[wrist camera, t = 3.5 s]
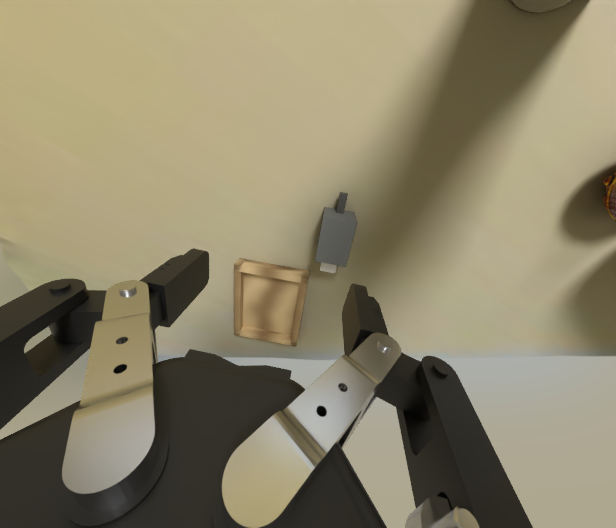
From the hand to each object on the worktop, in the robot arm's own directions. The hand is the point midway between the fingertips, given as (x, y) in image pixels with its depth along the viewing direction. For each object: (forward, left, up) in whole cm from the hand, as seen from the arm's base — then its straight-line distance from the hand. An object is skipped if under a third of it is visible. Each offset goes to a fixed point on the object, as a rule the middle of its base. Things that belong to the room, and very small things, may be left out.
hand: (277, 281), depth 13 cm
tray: (+4, +17, -20) cm, 27 cm away
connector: (-4, +3, -20) cm, 21 cm away
